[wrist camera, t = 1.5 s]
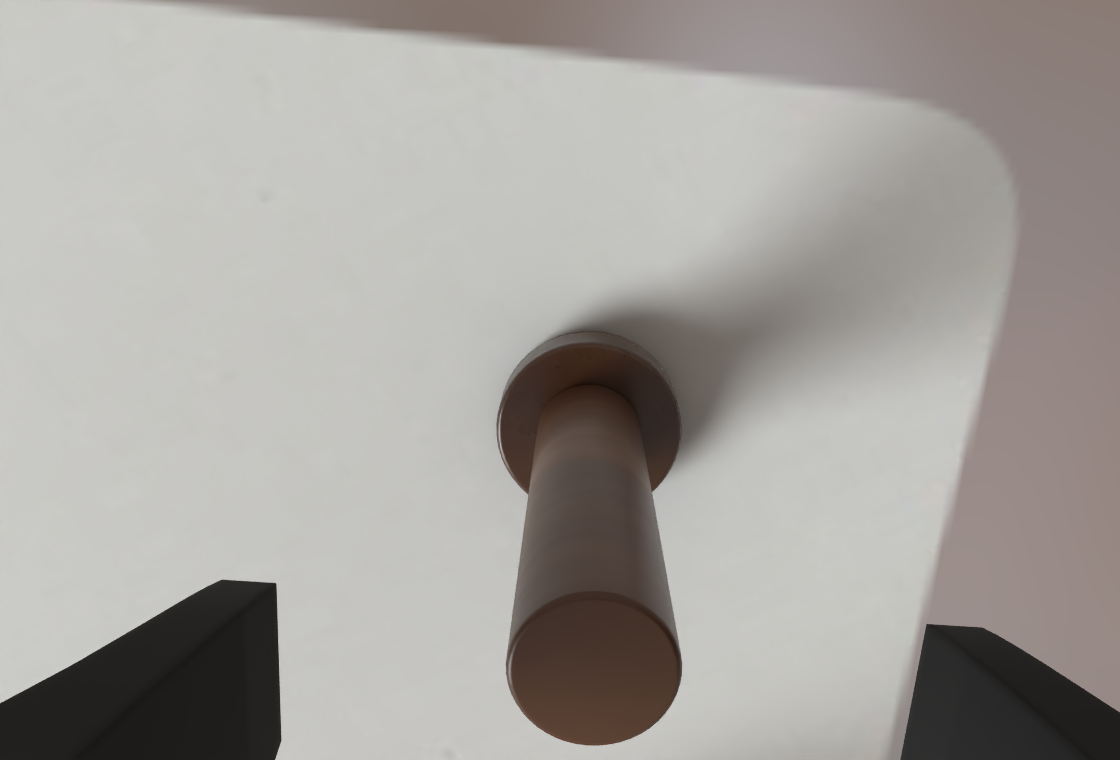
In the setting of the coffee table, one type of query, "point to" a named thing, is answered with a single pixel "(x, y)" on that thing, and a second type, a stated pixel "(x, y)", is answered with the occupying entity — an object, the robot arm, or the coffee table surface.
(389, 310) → the coffee table surface
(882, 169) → the coffee table surface
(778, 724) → the coffee table surface
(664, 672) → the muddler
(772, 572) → the coffee table surface
